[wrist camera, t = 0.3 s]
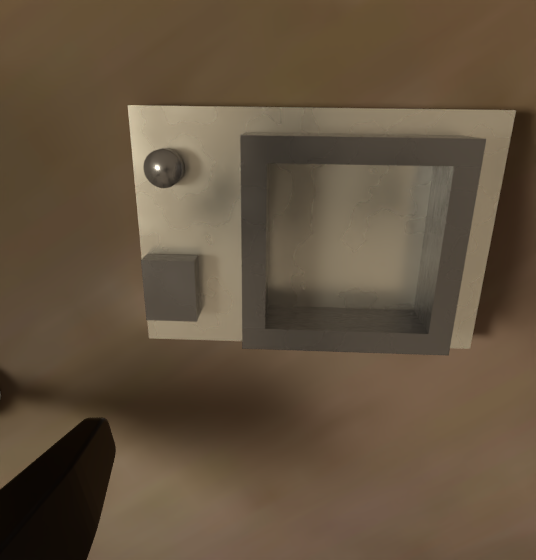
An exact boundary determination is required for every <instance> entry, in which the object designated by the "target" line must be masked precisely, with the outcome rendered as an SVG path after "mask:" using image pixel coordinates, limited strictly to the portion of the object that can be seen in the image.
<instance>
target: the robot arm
mask: <svg viewBox="0 0 536 560" xmlns="http://www.w3.org/2000/svg"><path fill="white" fill-rule="evenodd" d="M115 452H116V448H115V442H114V439H113V436H112V433H111V429H110V426H109V423H108V421H107V419H105V418H86V419H84V420H83V421H82V422H81V423H79V424H78V425H77V426H76V427H75V428H73V429H72V430H71V431H70V432H69V433H67V434H66V435H65V436H64V437H63V438H61V439H60V440H59V441H58V442H57V443H55V444H54V445H53V446H52V447H51V448H49V449H48V450H47V451H46V452H45V453H43V454H42V455H41V456H40V457H39V458H37V459H36V460H35V461H34V462H33V463H31V464H30V465H29V466H28V467H27V468H25V469H24V470H23V471H22V472H21V473H19V474H18V475H17V476H16V477H15V478H13V479H12V480H11V481H10V482H9V483H7V484H6V485H5V486H4V487H3V488H1V489H0V560H87V557H88V554H89V551H90V549H91V546H92V543H93V540H94V537H95V534H96V531H97V528H98V524H99V520H100V516H101V512H102V508H103V504H104V500H105V496H106V492H107V487H108V483H109V479H110V475H111V471H112V467H113V463H114V458H115Z"/></svg>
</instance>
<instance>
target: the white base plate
mask: <svg viewBox="0 0 536 560" xmlns="http://www.w3.org/2000/svg"><path fill="white" fill-rule="evenodd" d="M128 113H129V124H130V135H131V146H132V157H133V168H134V179H135V190H136V201H137V212H138V223H139V233H140V244H141V255H142V260H141V265H142V276H143V287H144V298H145V309H146V320H147V321H148V332H149V338H158V339H189V340H219V341H242V348H244V349H273V350H303V351H333V352H363V353H393V354H423V355H449V350H450V348H463V349H470V346H471V341H472V336H473V331H474V326H475V320H476V315H477V310H478V305H479V300H480V294H481V289H482V284H483V279H484V274H485V269H486V263H487V258H488V253H489V248H490V243H491V237H492V232H493V227H494V222H495V217H496V212H497V206H498V201H499V196H500V191H501V186H502V180H503V175H504V170H505V165H506V160H507V155H508V149H509V144H510V139H511V134H512V129H513V123H514V118H515V113H516V110H458V109H378V108H297V107H217V106H137V105H128Z"/></svg>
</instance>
